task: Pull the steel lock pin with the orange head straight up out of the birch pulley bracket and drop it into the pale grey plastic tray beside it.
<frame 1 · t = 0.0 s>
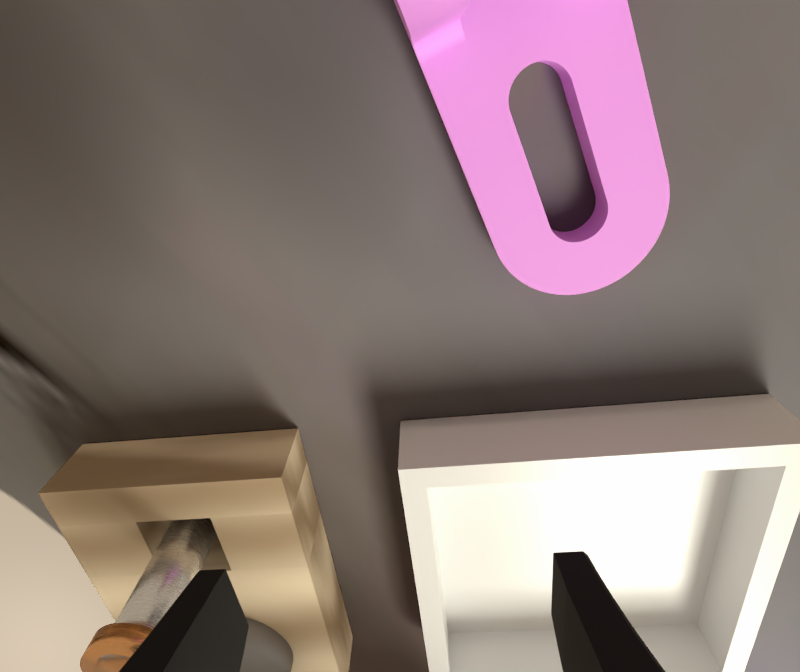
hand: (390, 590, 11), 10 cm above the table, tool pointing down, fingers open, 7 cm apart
tray: (572, 534, 24), on the table
pulley bracket: (233, 551, 26), on the table
bracket: (529, 95, 16), on the table
lock pin: (211, 494, 24), resting in pulley bracket
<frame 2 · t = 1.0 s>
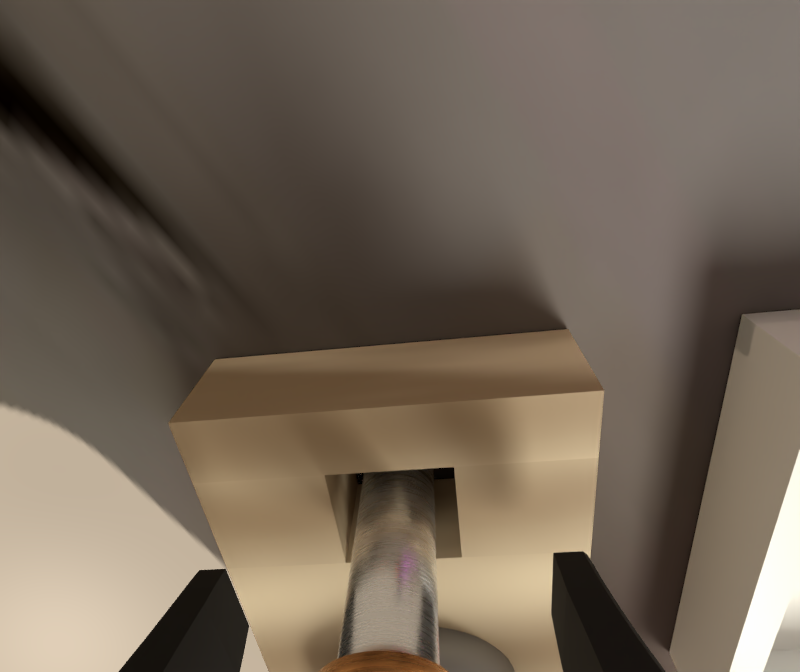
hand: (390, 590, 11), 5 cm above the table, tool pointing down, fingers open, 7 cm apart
pulley bracket: (413, 533, 17), on the table
lock pin: (400, 442, 16), resting in pulley bracket
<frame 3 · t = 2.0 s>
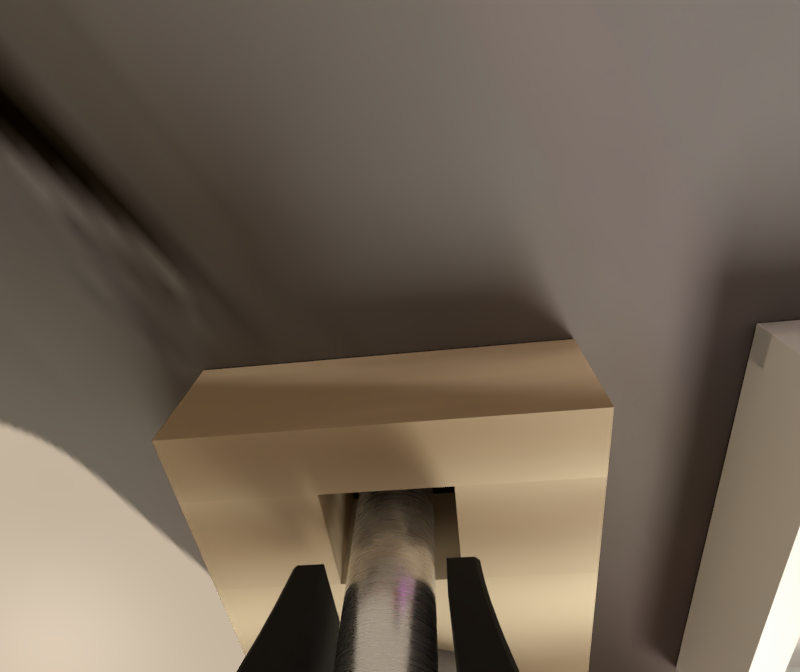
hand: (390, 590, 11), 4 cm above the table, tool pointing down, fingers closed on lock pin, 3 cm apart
pulley bracket: (412, 548, 17), on the table
lock pin: (398, 455, 15), resting in pulley bracket, touching gripper
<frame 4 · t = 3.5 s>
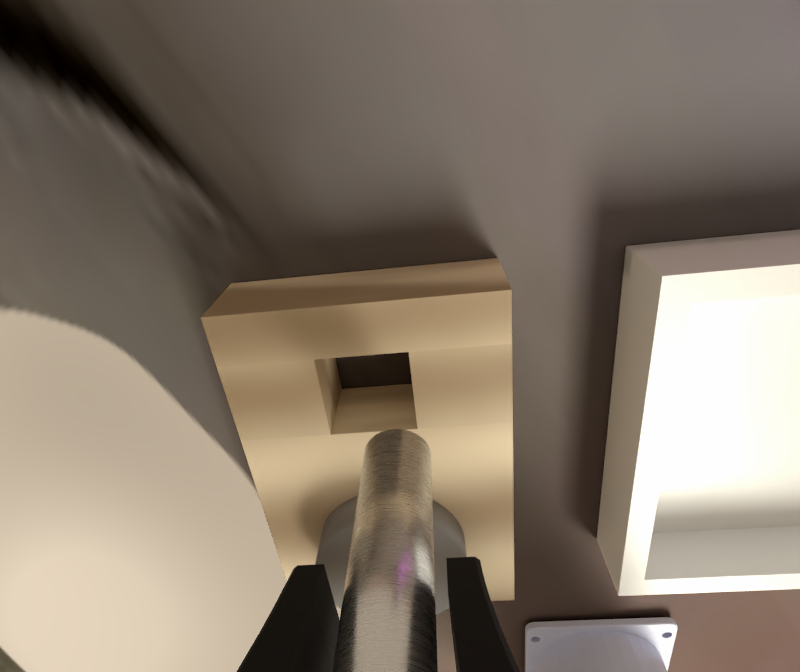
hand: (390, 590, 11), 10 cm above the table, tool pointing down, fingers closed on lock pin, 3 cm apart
tray: (796, 403, 21), on the table
pulley bracket: (386, 431, 22), on the table
lock pin: (397, 455, 15), point 6 cm above the table, touching gripper
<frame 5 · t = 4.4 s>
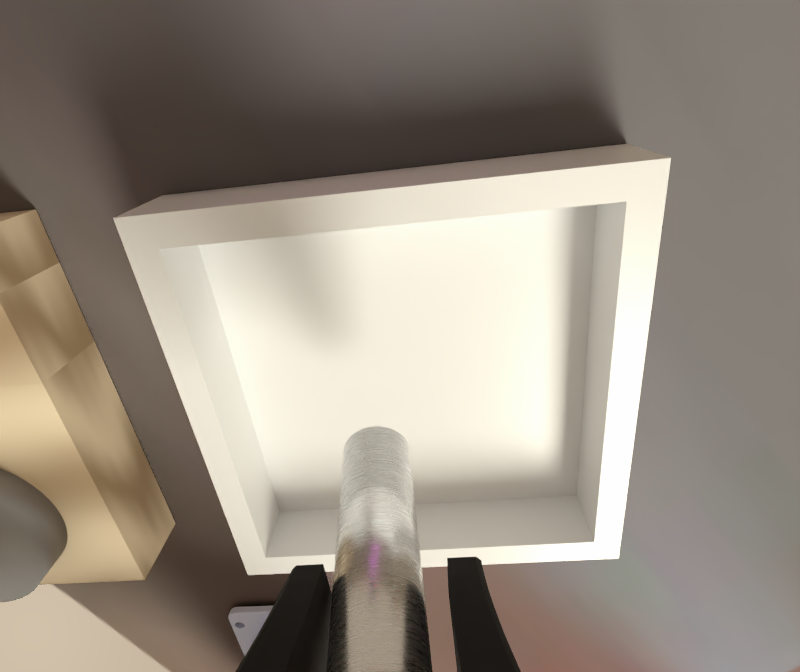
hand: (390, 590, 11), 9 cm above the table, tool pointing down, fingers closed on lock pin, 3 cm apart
tray: (409, 370, 19), on the table
pulley bracket: (3, 401, 21), on the table
lock pin: (376, 453, 15), point 5 cm above the table, touching gripper
when the fingers open (7 cm above the table, at t = 5.1 s): lock pin drops 2 cm, resting on tray.
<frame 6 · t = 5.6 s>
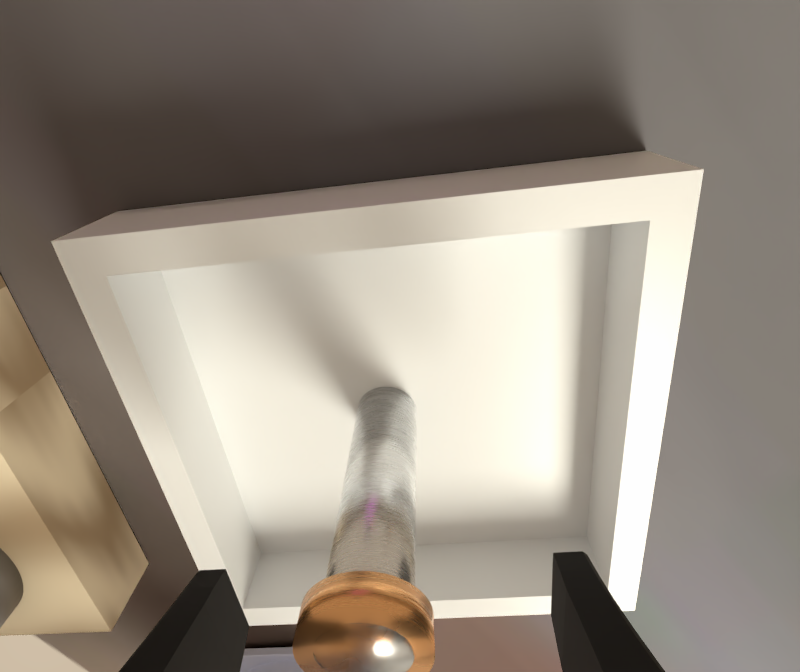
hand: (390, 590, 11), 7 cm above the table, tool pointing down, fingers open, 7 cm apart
tray: (401, 402, 17), on the table
lock pin: (387, 411, 17), point 1 cm above the table, touching tray
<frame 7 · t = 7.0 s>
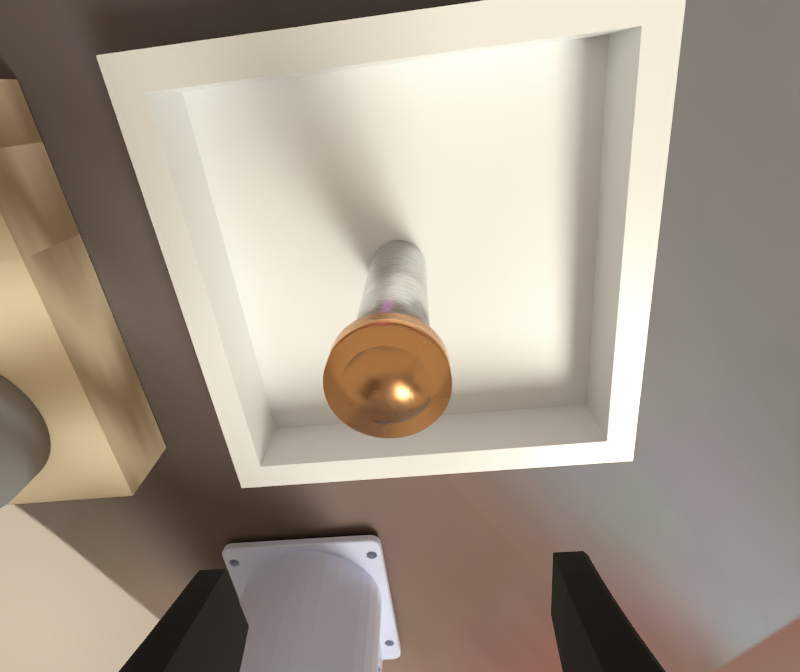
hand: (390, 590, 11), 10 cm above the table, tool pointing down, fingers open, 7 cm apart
tray: (411, 263, 18), on the table
lock pin: (398, 267, 18), point 1 cm above the table, touching tray
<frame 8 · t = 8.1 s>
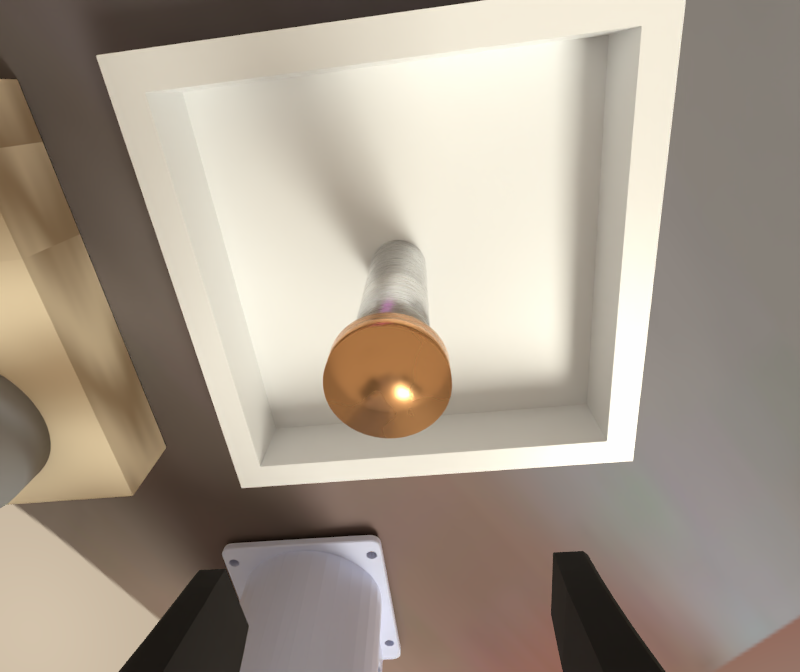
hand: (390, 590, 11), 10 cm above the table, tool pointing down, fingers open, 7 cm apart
tray: (411, 263, 18), on the table
lock pin: (398, 267, 18), point 1 cm above the table, touching tray
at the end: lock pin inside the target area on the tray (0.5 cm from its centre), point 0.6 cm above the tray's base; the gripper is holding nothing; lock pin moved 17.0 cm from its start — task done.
